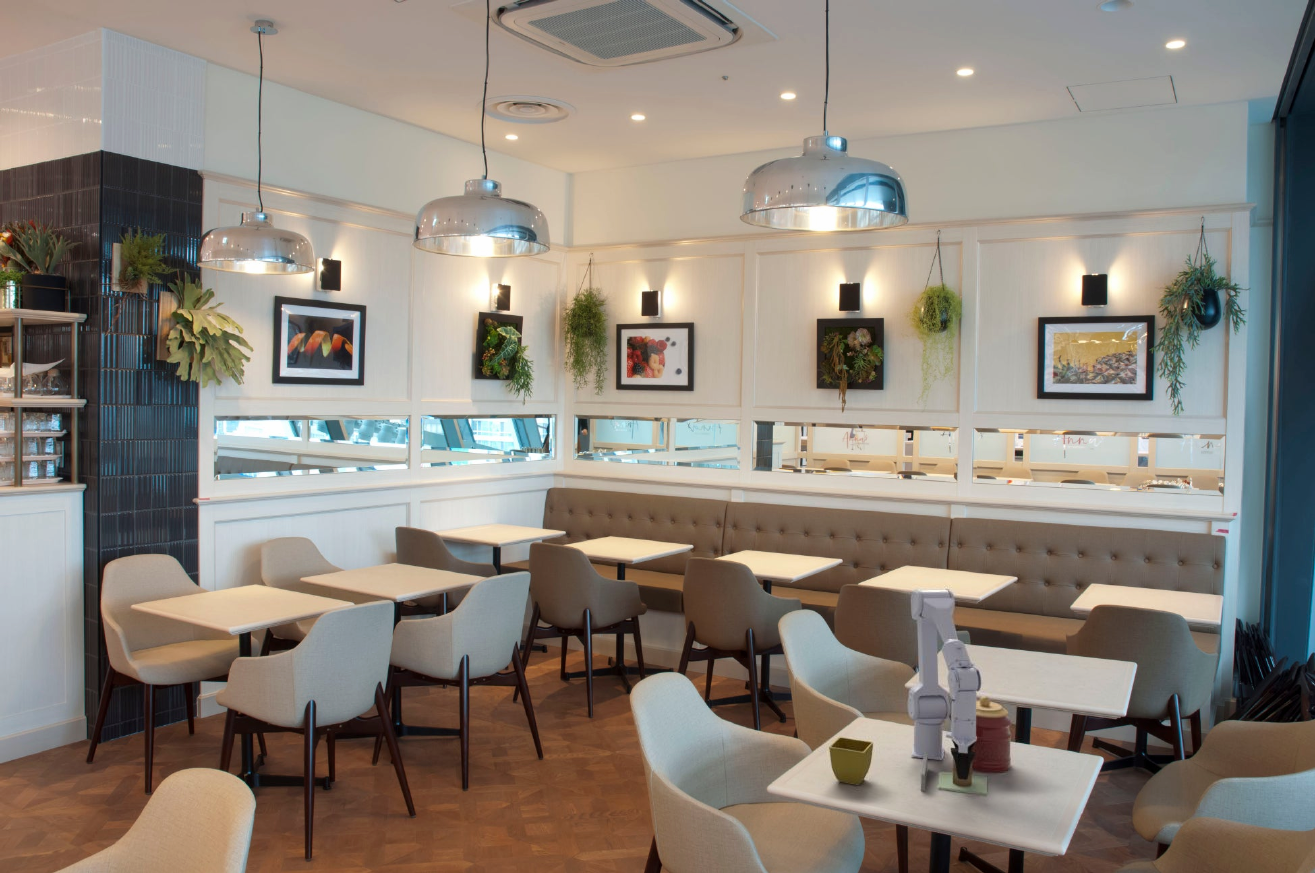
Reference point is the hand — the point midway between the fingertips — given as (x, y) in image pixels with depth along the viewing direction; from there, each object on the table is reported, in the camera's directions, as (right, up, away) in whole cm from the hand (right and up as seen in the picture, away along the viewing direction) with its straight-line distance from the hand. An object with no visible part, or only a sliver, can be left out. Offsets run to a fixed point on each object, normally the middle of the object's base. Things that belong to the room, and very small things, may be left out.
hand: (962, 773), depth 233 cm
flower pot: (-27, -3, +2) cm, 27 cm away
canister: (+10, -3, +15) cm, 18 cm away
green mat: (0, -3, +1) cm, 3 cm away
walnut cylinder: (0, -2, 0) cm, 2 cm away
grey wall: (-8, -3, +4) cm, 10 cm away
